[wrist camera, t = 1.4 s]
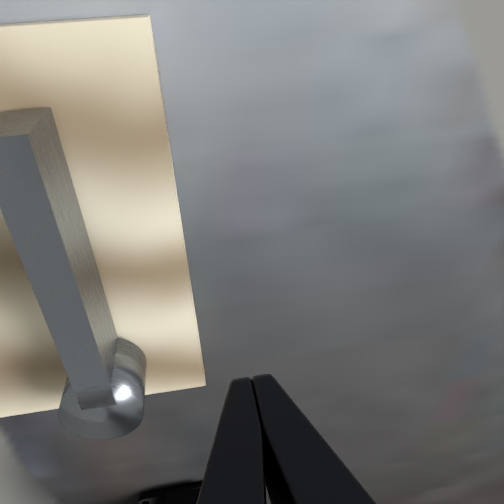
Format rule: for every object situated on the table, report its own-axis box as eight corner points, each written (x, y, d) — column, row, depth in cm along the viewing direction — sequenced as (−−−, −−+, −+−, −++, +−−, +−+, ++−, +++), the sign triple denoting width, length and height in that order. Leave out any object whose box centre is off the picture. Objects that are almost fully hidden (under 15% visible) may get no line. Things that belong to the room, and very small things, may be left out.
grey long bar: (152, 382, 23) (150, 432, 21) (81, 393, 23) (70, 446, 20) (82, 104, 15) (65, 131, 13) (-28, 113, 15) (-68, 142, 12)
